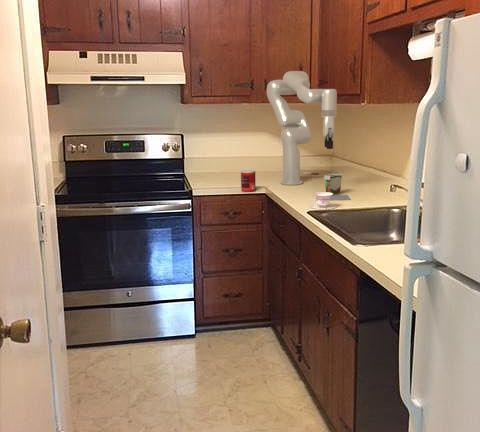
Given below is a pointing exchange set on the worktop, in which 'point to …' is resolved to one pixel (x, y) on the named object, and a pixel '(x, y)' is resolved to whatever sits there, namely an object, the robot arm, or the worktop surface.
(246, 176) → the canned food
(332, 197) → the mat
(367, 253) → the worktop surface
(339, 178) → the food container
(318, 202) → the teacup
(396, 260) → the worktop surface
